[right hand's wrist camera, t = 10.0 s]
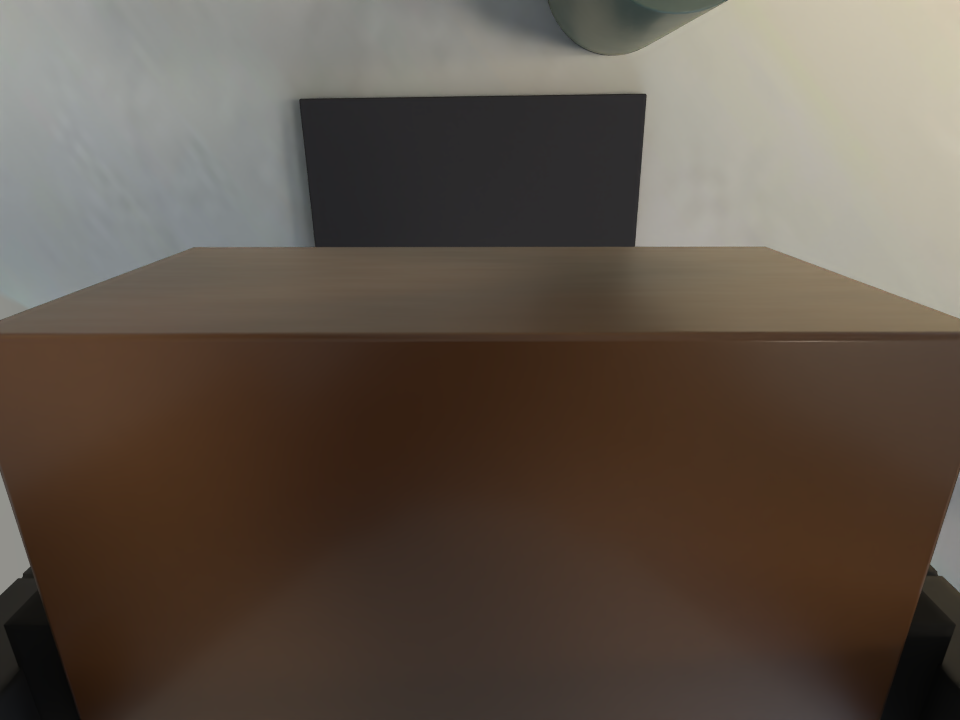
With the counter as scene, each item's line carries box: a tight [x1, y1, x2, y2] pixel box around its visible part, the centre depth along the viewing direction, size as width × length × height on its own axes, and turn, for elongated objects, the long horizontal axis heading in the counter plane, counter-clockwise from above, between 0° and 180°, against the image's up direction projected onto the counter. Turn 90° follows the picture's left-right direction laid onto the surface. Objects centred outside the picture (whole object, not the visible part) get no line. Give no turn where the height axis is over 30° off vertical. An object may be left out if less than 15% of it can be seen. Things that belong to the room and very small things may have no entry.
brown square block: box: [0, 247, 960, 720], centre depth 10 cm, size 10×10×5 cm
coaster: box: [300, 94, 646, 247], centre depth 38 cm, size 20×20×1 cm
